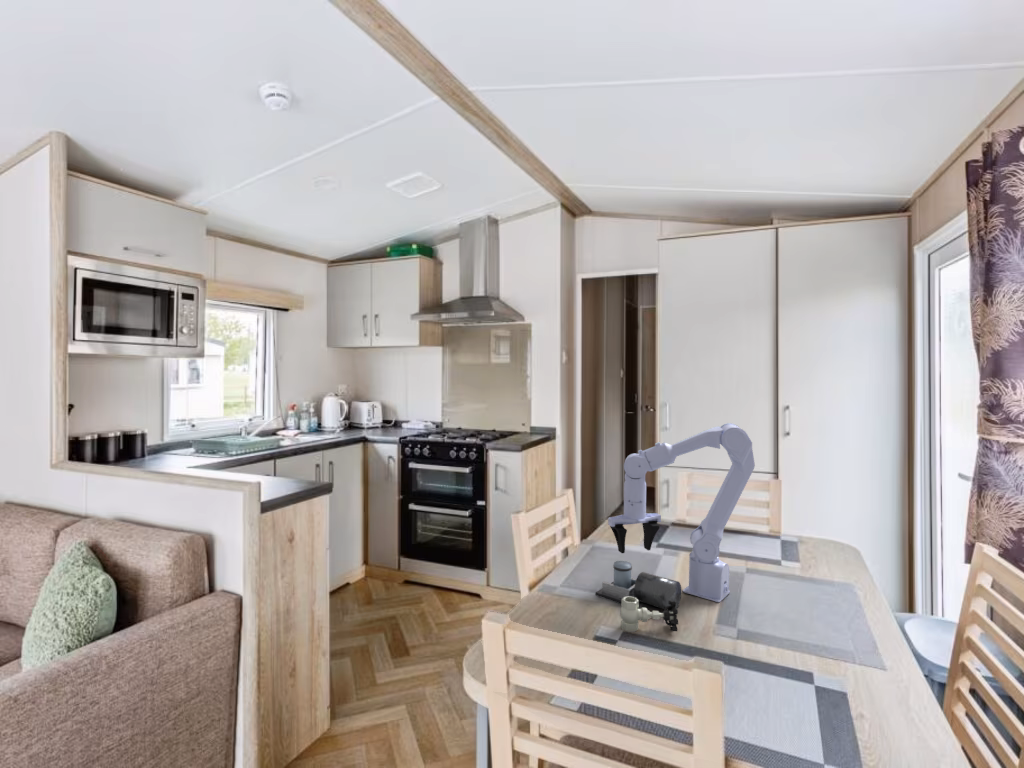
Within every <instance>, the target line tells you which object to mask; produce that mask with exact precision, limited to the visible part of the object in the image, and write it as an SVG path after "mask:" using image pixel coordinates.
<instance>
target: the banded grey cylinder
mask: <svg viewBox="0 0 1024 768" xmlns="http://www.w3.org/2000/svg"><path fill="white" fill-rule="evenodd" d="M632 569H633V566H632V563H631V562H629V561H628V560H615V561H614V562H613V581H614V585H617V586H620V587H624V588H627V589H628V588H630V587H631V578H632Z"/></svg>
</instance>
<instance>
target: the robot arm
mask: <svg viewBox="0 0 1024 768" xmlns="http://www.w3.org/2000/svg"><path fill="white" fill-rule="evenodd" d="M721 446H722V447H723V449H725V450H726V452H727V455H728V457H729V459H730V462H731V465H730V468H729V470H728V472H727V474H726V476H725V478H724V479H723V482H722V484H721V486H720V487H719V490H718V492H717V494H716V496H715V498H714V500H713V502H712V504H711V506H710V508H709V510H708V512H707V514H706V516H705V517H704V519H703V520H701V522H700V523H699V525H698V527H697V528H695V529H693V530H692V532H691V533H690V536H689V540H690V543H691V546H692V550H691V552H689V555H688V556H689V557H688V558H689V559H688V562H689V563H688V565H689V567H688V585H687V586H686V587H685V588H683V589H682V592H683V593H685V594H689V595H692V596H695V597H699V598H702V599H704V600H705V599H706V600H709V601H713V602H716V603H721V602H722V601H723V600H724V599H725V598H726V597H727V596H728V595H729V594H730V593H731V591H730V566H729V563H726V562H724V561H722V560H721V559H720V557H719V556H720V545H721V542H722V540H723V535H724V531H725V530H724V529H725V527H726V526H727V523H728V521H729V519H730V518H731V515H732V514H733V511H734V509H735V507H736V506H737V503H738V502H739V500H740V497H741V495H742V494H743V492H744V489H745V487H746V486H747V484H748V482H749V479H750V478H751V476H752V474H753V472H754V471H755V470H754V469H755V466H756V465H755V458H754V452H753V442H752V440H751V438H750V436H749V435H748V433H747V431H746V430H744V429H743V428H740V426H738V425H737V424H735V423H733V422H732V423H731V422H730V423H729V422H727V423H724V424H722V425H721V426H719V425H718V426H713V427H710V428H709V429H706V430H703V431H701V432H698V433H696V434H693V435H691V436H689V437H687V438H685V439H683V440H680V441H677V442H675V443H673V444H670V443H667V442H665V441H664V442H660V441H658V442H656V443H655V444H654V446H652V447H649V448H646V449H644V450H642V449H639V450H637V452H636V453H630V454H629V455H627V457H626V458H625V459H624V463H623V470H624V472H625V474H624V481H623V514H620V515H616V516H610V517H608V518H607V521H608V522H607V524H608V526H609V527H610V529H611V531H612V532H613V535H614V538H615V541H616V544H617V549H618V552H619V553H621V554H625V553H626V552H625V551H626V536H627V533H628V529H626V528H625V525H635V524H636V525H637V524H641V525H642V530H643V548H644V549H645V550H646V551H651V548H652V545H653V541H654V539H655V538H656V537H655V536H656V535H657V533H658V531H659V529H660V527H661V526H660V524H659V523H662V515H661V514H659V513H657V512H655V513H650V512H649V513H648V512H647V482H646V474H647V472H653V471H656V470H658V469H661V468H664V467H667V466H669V465H671V464H674V463H675V461H676V459H677V457H678V456H682V455H685V454H688V453H691V452H694V451H696V450H699V449H703V448H706V447H709V448H713V449H718V450H719V449H721Z"/></svg>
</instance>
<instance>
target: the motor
mask: <svg viewBox="0 0 1024 768" xmlns="http://www.w3.org/2000/svg"><path fill="white" fill-rule="evenodd" d="M682 592H683V589H682V585H681V583H680V581H678V580H674V579H670V578H666V577H663V576H659V575H656V574H652V573H648V572H645V571H642V572H640V573H639V574H638V575H637V577H636V578H634V577H631V587H630V588H628V589H627V588H624V587H620V586H617V585H614V580H613V581H612V582H607V581H602V583H601V588H600V589H598V590H597V591H596V592H595V596H597V597H599V598H602V599H606V600H609V601H612V602H615V603H618V604H620V605H621V603H622V598H623V597H626V596H631V597H635V598H637V599H638V600H639V603H640V602H641V603H644V604H646V605H649V606H654V607H657V608H659V609H662V610H664V609H665V607H667V606H671V604H669V601H675V602H676V606H675V608H676V609H677V610H678V608H679V606H680V603H681V599H682Z"/></svg>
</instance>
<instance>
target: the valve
mask: <svg viewBox="0 0 1024 768" xmlns="http://www.w3.org/2000/svg"><path fill="white" fill-rule="evenodd" d="M669 604H671V606H667V607H665V609H663V610H662V612H660V611H659V610H651V611H650V610H648V608H647V607H640V608H639V606H640V601H639V600H638V599H637V598H635V597H631V596H626V597H623V598H622V603H621V604H620V605H621V609H620V615H619V616H620V618H621V621H620V628H621V629H623V630H624V631H625V632H633V633H634V632H637V630H638V629H639V621H641V622H642V623H647V622H648V620H650V619H651V618H652V620H660V618H661V619H662V620H663V621H664V623H665V625H666V626H669V630H670V631H672V632H678V625H679V618H678V614H679V611H678V608H677V609H676V608H675V606H676V602H675V601H669Z"/></svg>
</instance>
